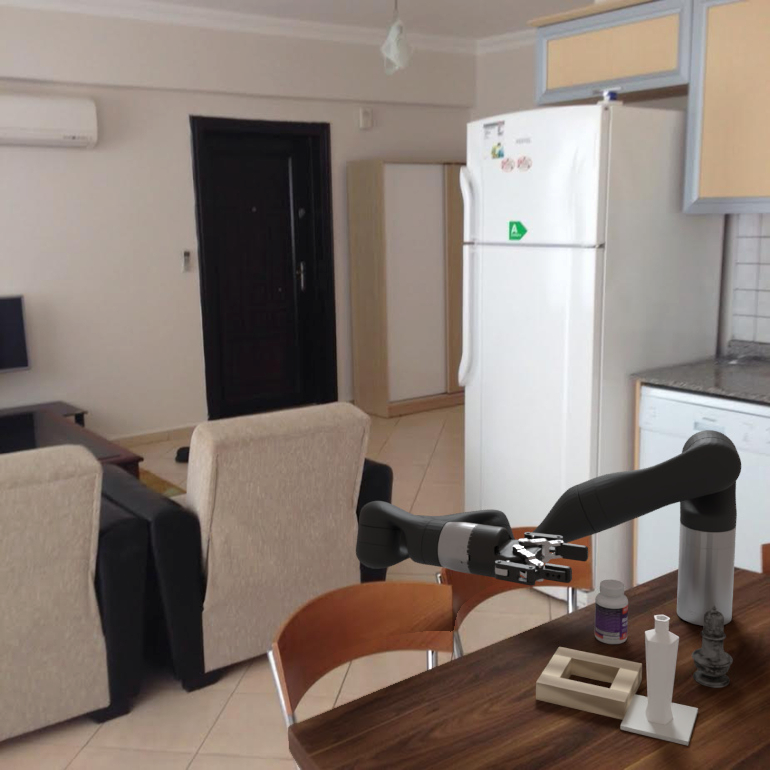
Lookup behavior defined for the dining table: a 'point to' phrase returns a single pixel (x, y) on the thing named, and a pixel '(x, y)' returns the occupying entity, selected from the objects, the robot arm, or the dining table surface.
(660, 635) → the white vase
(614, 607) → the pill bottle
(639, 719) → the coaster
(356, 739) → the dining table surface
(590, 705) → the frame
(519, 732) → the dining table surface
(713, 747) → the dining table surface
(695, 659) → the black chess piece
